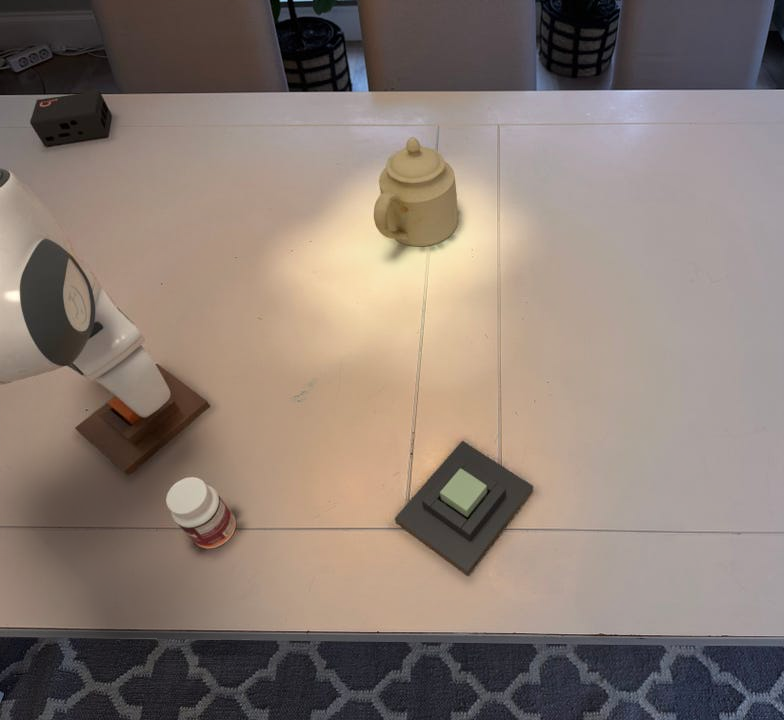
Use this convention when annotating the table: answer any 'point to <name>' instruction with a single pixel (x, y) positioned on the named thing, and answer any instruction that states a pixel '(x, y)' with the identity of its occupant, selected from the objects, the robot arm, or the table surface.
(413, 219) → the sugar bowl
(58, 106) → the electronic device
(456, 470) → the dark grey stepped base
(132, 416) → the far key
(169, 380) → the brown button base
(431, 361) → the table surface
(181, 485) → the pill bottle
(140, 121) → the table surface
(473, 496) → the near key
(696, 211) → the table surface
